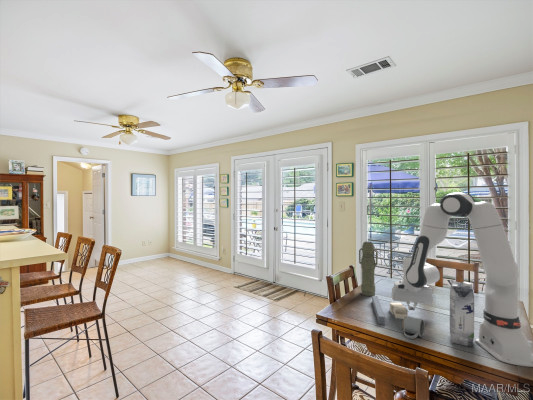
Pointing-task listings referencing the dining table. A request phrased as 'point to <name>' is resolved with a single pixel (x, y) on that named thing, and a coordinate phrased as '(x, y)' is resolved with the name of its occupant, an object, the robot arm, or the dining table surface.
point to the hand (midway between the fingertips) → (411, 309)
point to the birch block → (398, 310)
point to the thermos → (368, 268)
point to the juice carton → (462, 313)
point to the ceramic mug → (413, 327)
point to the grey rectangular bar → (378, 310)
